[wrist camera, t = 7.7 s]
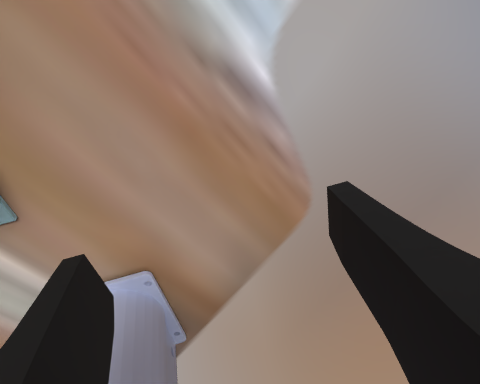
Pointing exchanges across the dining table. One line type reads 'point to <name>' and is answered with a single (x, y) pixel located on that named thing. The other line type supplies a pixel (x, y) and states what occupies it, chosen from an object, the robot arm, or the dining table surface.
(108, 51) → the dining table surface
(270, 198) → the dining table surface
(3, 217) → the mat
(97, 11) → the dining table surface
